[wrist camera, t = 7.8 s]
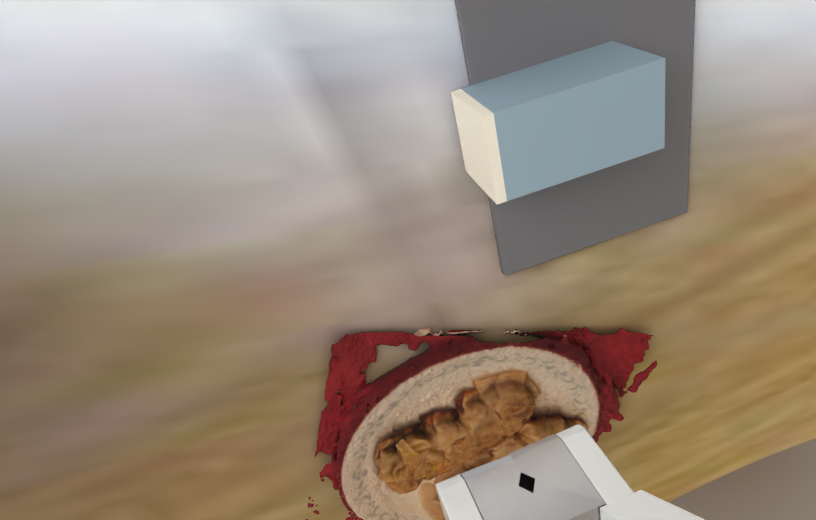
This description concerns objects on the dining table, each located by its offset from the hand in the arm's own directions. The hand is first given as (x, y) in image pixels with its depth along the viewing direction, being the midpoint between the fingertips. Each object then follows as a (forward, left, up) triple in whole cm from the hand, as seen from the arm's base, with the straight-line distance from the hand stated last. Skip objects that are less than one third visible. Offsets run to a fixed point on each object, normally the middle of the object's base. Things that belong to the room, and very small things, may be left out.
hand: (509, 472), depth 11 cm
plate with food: (+3, -30, -26) cm, 40 cm away
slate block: (+7, -3, -22) cm, 24 cm away
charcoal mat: (+15, -3, -25) cm, 30 cm away
